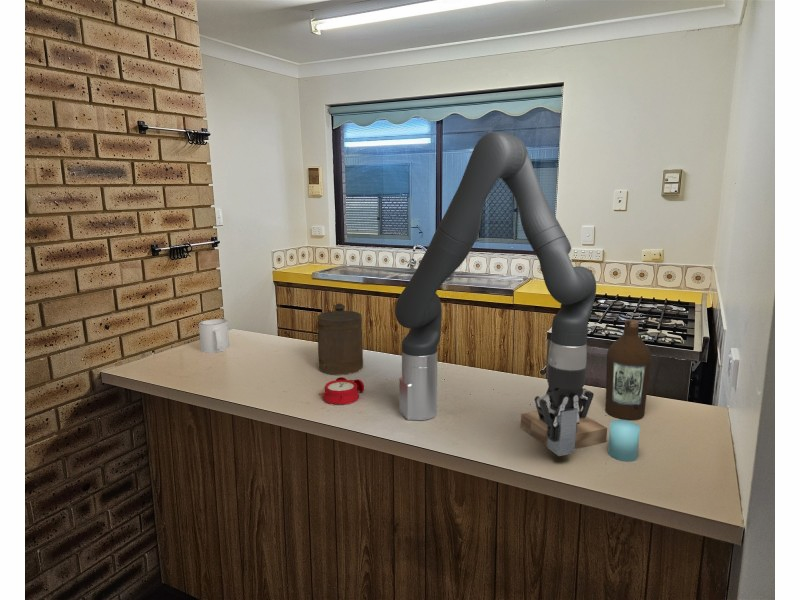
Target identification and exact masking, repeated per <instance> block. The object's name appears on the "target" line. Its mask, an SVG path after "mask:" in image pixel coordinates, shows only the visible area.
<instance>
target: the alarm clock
mask: <svg viewBox="0 0 800 600" xmlns="http://www.w3.org/2000/svg"><path fill="white" fill-rule="evenodd" d="M359 391H360V393H359ZM364 391H365V384H364V382H363V380H361V379H357V378H356V379H347V378H345V377H344V376H342V377H341V376H339V377H337V378H335V380H331V381H329V382H327V383H325V385H324V392H322V393H318V395H319V396H322V395H323V396H322V400H323V401H324V402H325V403H327V404H329V403H330V404H329V405H331V404H334V405H336V404H340V405H347V404H353V403H355V402H357V401H358V400H359V399H360V394H362V393H363V392H364Z"/></svg>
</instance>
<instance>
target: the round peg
mask: <svg viewBox="0 0 800 600" xmlns="http://www.w3.org/2000/svg"><path fill="white" fill-rule="evenodd" d="M609 422H610V423H609V434H608V446H607V454H608V456H609V457H611V458H613V459H614V460H616V461H619V462H624V463H625V462H626V463H628V462H629V463H631V462H635V461H637V460H638V453H639V446H640V445H639V444H640V443H639V442H640V433H641V427H640V425H639V424H638V423H636V422H633V421H632V420H625V419H613V420H611V421H609Z"/></svg>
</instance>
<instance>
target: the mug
mask: <svg viewBox="0 0 800 600" xmlns="http://www.w3.org/2000/svg"><path fill="white" fill-rule="evenodd" d="M228 327H229V325H228V320H227V319H226V318H225V319H223V318H212V319H205V320H201V321H200V322H198V331H199V341H200V342H199V344H200V351H202V352H201V353H203V352H205V354H215V353H214V352H219V353H221V352H220V351H224V350H226V349H228V348H229V349H230V338H229V328H228ZM229 349H228V350H229ZM226 351H227V350H226ZM224 352H225V351H224Z"/></svg>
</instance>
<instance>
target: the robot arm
mask: <svg viewBox="0 0 800 600" xmlns="http://www.w3.org/2000/svg"><path fill="white" fill-rule="evenodd" d="M499 179H501V180H502V181H503V182H504V183H505V184H506V186H507V187H508V189H509V190H510V192H511V193H512V195H513V197H514V200H515V202H516V205H517V208H518V212H519V217H520V223H521V227H522V230H523V233H524V235H525V237H526V239H527V241H528V244H529V245H530V247H531V248H532V250H533V252H534V254H535V256H536V258H537V259H538V262H539V266H540V270H541V274H542V277H543V281H544V285H545V287H546V289H547V291H548V293H549V295H550V296H551V297H552V298H553V299H554V300H555V301H556V302H558V303H559V304H560V306H559V308H560V309H559V310H558V312H557V313H556V314H555V315H554V316H553V318H552V322H551V336H550V344H549V349H548V359H547V360H548V361H547V376H546V380H547V381H546V382H547V385H548V387H547V390H546V393H545V395H543V396H538V395H536V396H535V397H534V401H535V402H534V403H535V407H536V411H538V415H539V419H540V420H541V421H542V422H544V423H545V424H547V425H548V426H547V437H548V438H549V439H550V440H551V441H553V442H557V435H558V426H557V425H558V423H559V417H560V416H561V411H564V409H569V408H573V409H578V412H577V422H579V419H581V418H583V419H584V418H585V417H586V416H587V414H588V413H589V409H590V408H591V404H592V401H593V398H594V396H595V395H594V392H593V391H590V390H588V389H586V388H584V386H585V385H586V384H585V383H586V382H585V381H586V374H587V373H586V372H587V370H586V369H587V360H588V359H587V358H588V349H587V344H588V341H587V340H588V327H589V326H588V325H589V319H590V316H591V315H592V310H593V306H594V302H595V299H596V293H597V282H596V277H595V275H594V273H593V271H591V270H590V268H588V267H586V266H581V265H579V266H573V265H574V264H573V262H572V261H571V257H570V256H569V254H570V252H571V251H572V245H571V243H570V240H569V238H568V237H567V235H566V233H565V232H564V230H563V228H562V226H561V224H560V223H559V221H558V218H556V216H555V213H554V211H553V210H552V208H551V206H550V204H549V202H548V199H547V198H546V195H545V193H544V190H543V189H542V186H541V184H540V181H539V179H538V176H537V174H536V171H535V169H534V165H533V164H532V160H531V157H530V154H529V152H528V148H527V146H526V144H525V143H524V141H522V139H521V138H520V137H518V136H516V135H513V134H510V133H509V134H508V133H506V132H500V131H491V132H487V133H486V134H484V135H482V136H481V138H479V140H477V143H476V144H475V146H474V148H473V149H472V152H471V155H470V157H469V160H468V162H467V164H466V167H465V170H464V172H463V175H462V178H461V179H460V180H461V181H460V183H459V186H458V187H457V189H456V191H455V193H454V195H453V197H452V199H451V201H450V203H449V205H448V207H447V208H446V209H447V210H446V211H445V213H444V215H443V217H442V218H441V220H440V222H439V224H438V226H437V228H436V230H435V233H434V234H433V236H432V238H431V241H430V243H429V244H428V247H427V249H426V251H425V252H424V255H423V256H422V258H421V260H420V262H419V264H418V266H417V268H416V270H415V272H414V273H413V275H412V276H411V278H410V280H409V281H408V282H407V284H406V286H405V288H404V289H403V290H402V292H401V293H400V294H399V296H398V298H397V300H396V303H395V306H394V308H395V309H394V314H395V318H396V321H397V322H398V324H399V325H400V326H401V327H403V328H406V329H409V330H408V333H407V334H406V336H405V337H404V338H403V339H402V341H401V377H399V380H398V381H399V386H398V388H399V390H398V391H399V392H398V393H399V394H398V395H399V413H400V414H401V415H402V416H403V417H404V418H405V419H406V420H407V421H411V420H412V421H425V420H430V419H433V418H435V417H436V416H437V415H438V347H439V343H440V341H441V336H442V319H443V317H442V315H443V307H442V302H441V299H440V296H439V295H438V294H437V292H438V290H439V288H441V286H442V285H443V284H444V283H445V281H446V280H447V279H448V278H450V277H451V276H452V274H454V272H455V271H457V270H458V268H459V267H460V266H461V265H462V264H463V263H464V262H465V260H466V259H467V257H468V255H469V253H470V251H471V250H472V249H473V246H474V245H475V243H476V241H477V239H478V237H479V234H480V231H481V225H482V224H481V223H482V217H483V216H482V215H483V214H482V213H483V209H484V205H485V203H486V200H487V198H488V196H489V195H490V193H491V191H492V189H493V188H494V186H495V184H496V182H498V180H499ZM552 406H553V407H555V408H556V409H558V410H557V411H556V410H554V409H553V407H552ZM553 414H554V419H553ZM576 432H577V425H576Z"/></svg>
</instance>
